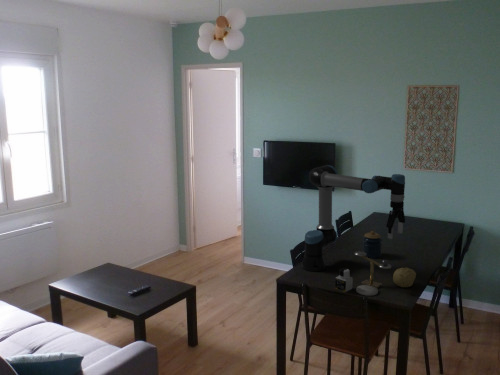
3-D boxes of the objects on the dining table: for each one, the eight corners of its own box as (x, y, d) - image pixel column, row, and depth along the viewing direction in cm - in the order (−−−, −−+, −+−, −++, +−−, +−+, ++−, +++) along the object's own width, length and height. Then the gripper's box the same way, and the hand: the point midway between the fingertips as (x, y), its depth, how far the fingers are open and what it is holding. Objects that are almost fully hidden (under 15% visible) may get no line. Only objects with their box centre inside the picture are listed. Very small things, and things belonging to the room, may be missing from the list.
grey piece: (334, 289, 269) (335, 269, 266) (342, 285, 274) (342, 266, 271) (345, 292, 264) (346, 272, 261) (352, 288, 269) (353, 269, 266)
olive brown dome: (406, 291, 265) (407, 273, 263) (388, 284, 274) (389, 267, 272) (418, 286, 271) (419, 268, 269) (400, 279, 281) (401, 262, 279)
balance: (351, 282, 278) (352, 253, 275) (356, 278, 284) (357, 250, 280) (387, 291, 264) (388, 261, 261) (392, 287, 270) (393, 258, 266)
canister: (382, 258, 317) (383, 234, 313) (362, 258, 319) (363, 233, 315) (380, 252, 329) (381, 228, 326) (361, 251, 331) (362, 227, 328)
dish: (352, 292, 264) (352, 290, 264) (361, 285, 273) (362, 283, 273) (372, 297, 257) (372, 295, 257) (381, 290, 266) (381, 288, 266)
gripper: (393, 205, 261) (391, 241, 265) (412, 198, 279) (410, 232, 283) (381, 203, 266) (379, 239, 270) (400, 196, 284) (398, 229, 288)
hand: (395, 235), depth 277 cm, fingers open, 13 cm apart
